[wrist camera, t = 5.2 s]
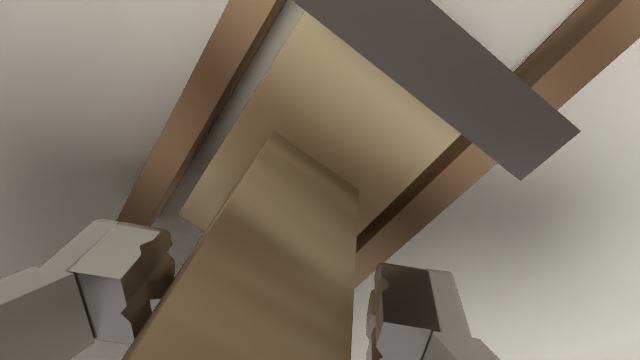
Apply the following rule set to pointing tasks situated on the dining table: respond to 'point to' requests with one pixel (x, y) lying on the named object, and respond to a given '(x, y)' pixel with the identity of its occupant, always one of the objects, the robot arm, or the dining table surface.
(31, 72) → the dining table surface
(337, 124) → the kicker
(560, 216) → the dining table surface
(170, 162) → the track
